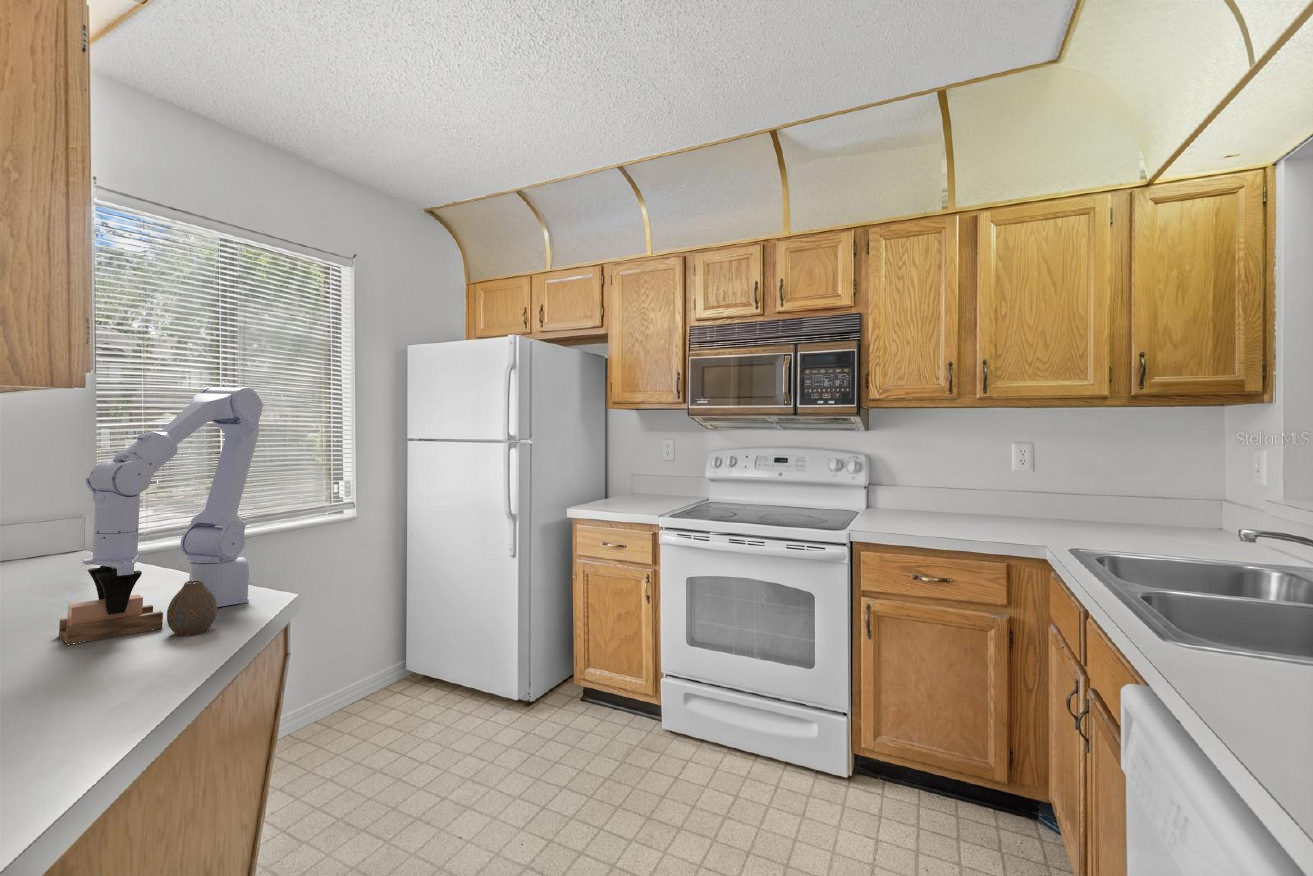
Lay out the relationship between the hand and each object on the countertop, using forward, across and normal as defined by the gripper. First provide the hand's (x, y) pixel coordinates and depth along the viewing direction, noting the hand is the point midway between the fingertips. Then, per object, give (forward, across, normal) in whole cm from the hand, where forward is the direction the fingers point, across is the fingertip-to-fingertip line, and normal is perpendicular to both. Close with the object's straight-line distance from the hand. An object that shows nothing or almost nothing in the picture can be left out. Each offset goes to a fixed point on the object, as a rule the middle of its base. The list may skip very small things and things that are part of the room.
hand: (112, 610), depth 102 cm
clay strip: (+3, 0, -1) cm, 3 cm away
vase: (+4, +9, +9) cm, 13 cm away
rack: (+4, 0, 0) cm, 4 cm away
